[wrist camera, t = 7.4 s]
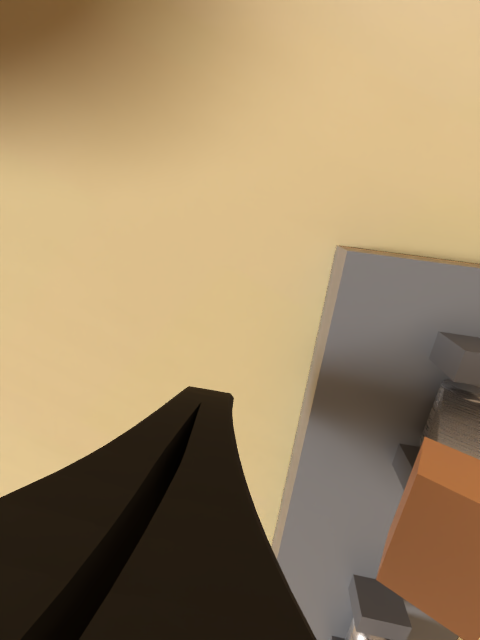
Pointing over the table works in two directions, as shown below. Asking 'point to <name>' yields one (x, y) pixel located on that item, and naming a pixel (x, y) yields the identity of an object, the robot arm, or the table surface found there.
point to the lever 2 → (441, 517)
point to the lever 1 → (360, 634)
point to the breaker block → (370, 432)
